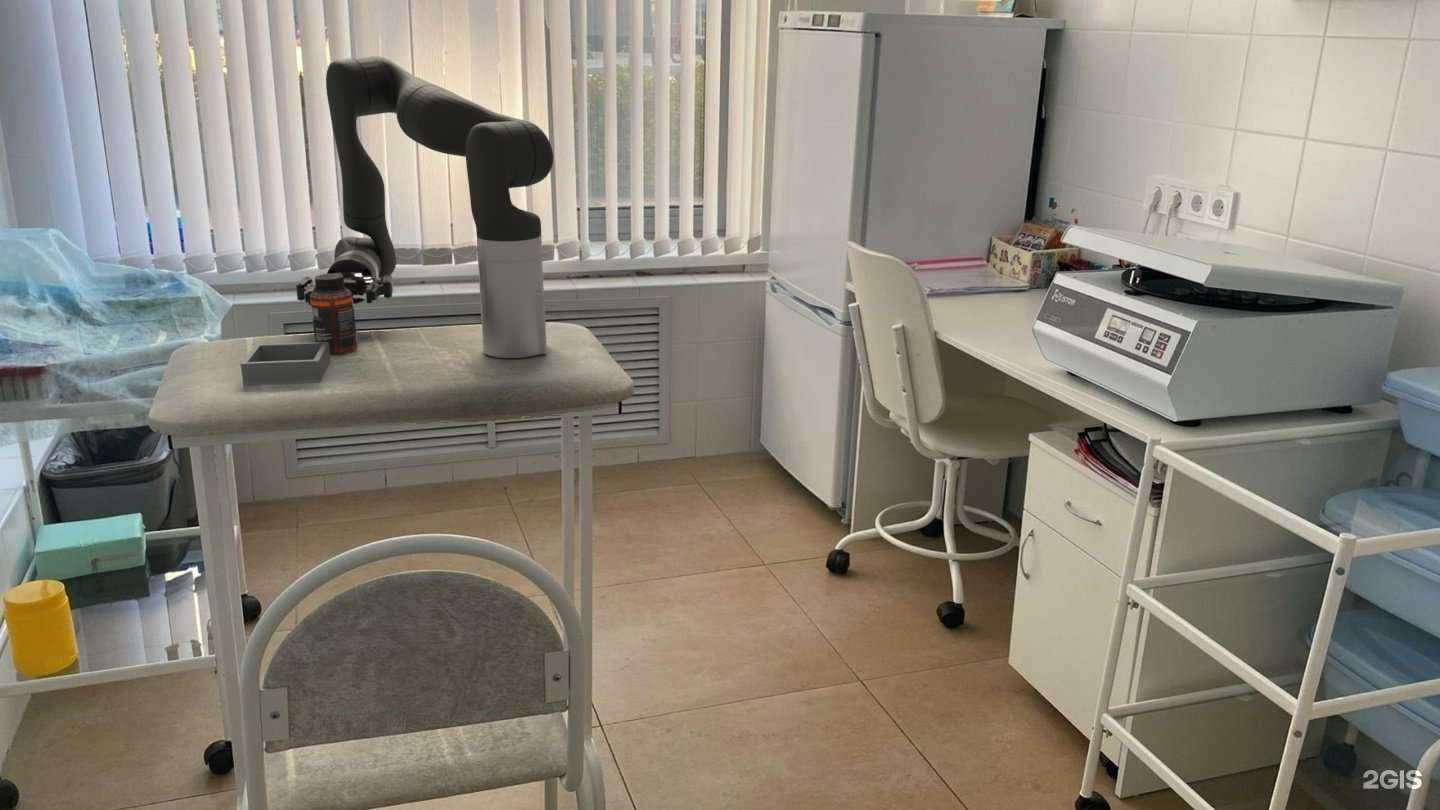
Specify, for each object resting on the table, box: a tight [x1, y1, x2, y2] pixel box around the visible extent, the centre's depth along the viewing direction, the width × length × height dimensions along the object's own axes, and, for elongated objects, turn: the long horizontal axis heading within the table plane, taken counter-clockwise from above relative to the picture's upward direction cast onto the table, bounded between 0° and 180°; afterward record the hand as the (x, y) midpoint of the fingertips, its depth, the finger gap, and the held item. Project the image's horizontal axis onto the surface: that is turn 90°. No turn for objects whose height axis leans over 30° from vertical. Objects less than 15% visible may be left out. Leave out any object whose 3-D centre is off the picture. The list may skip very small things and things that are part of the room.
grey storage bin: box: [240, 341, 332, 386], centre depth 158 cm, size 10×10×3 cm
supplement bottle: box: [310, 273, 358, 356], centre depth 167 cm, size 6×6×11 cm
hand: (339, 297), depth 174 cm, fingers open, 8 cm apart
